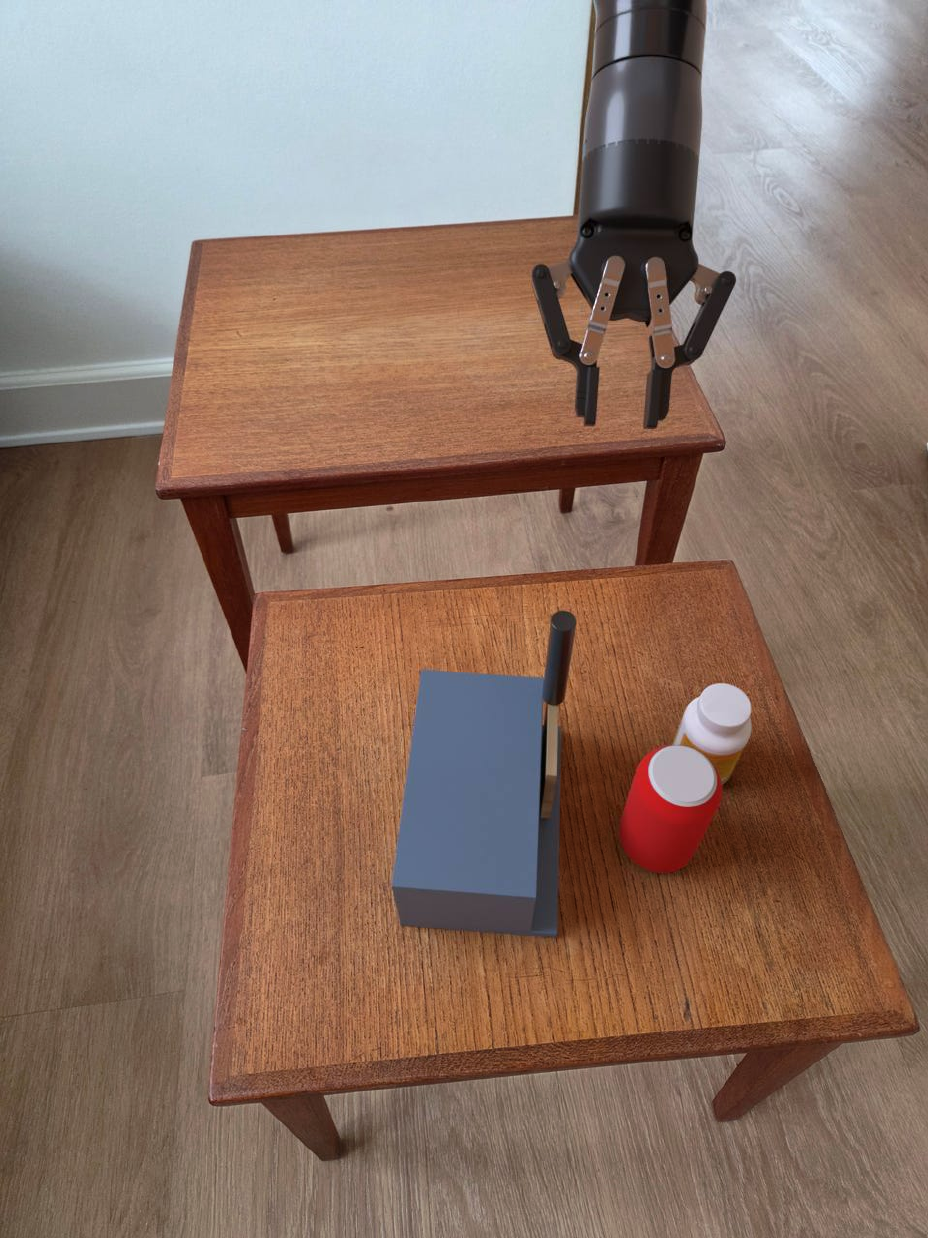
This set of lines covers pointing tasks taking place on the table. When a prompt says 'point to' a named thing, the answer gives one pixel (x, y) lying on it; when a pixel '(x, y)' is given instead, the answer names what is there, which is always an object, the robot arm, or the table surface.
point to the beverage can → (669, 808)
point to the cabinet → (478, 809)
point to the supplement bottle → (717, 726)
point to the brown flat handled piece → (554, 699)
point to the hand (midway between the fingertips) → (620, 425)
